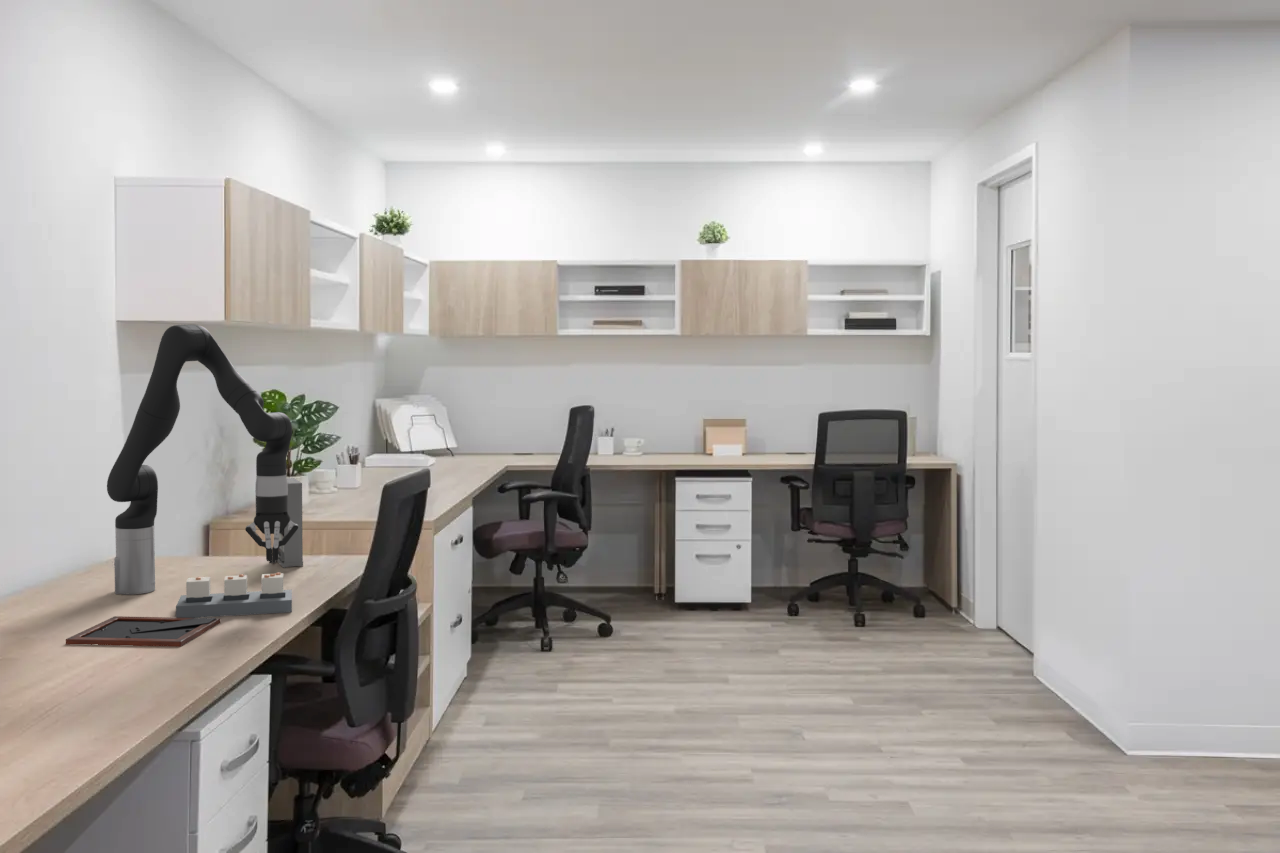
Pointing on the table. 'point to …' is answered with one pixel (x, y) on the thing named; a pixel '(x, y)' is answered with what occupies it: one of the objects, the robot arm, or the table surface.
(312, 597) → the table surface
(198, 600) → the board
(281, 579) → the tile three
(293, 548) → the tall grey labeled box
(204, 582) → the tile one
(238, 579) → the tile two
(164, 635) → the picture frame
